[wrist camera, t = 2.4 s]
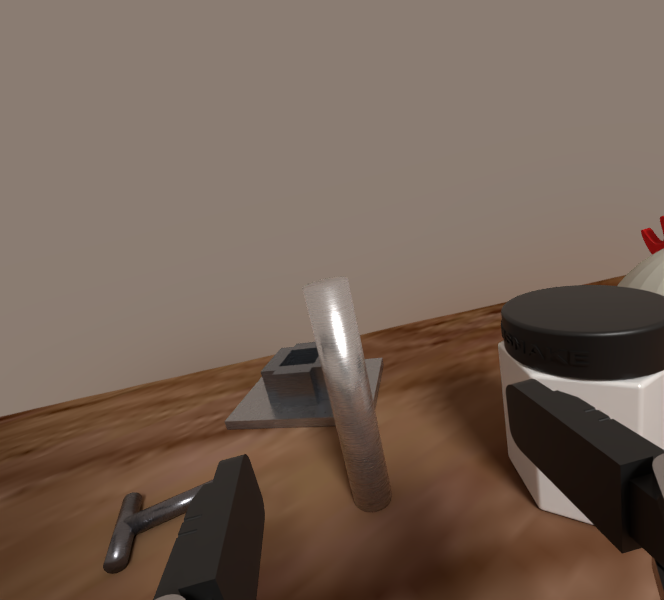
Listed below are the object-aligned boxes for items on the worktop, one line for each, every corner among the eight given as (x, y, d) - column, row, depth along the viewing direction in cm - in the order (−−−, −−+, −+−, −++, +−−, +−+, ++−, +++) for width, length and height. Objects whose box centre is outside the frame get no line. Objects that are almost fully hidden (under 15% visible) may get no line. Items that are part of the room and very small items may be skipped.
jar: (493, 438, 27) (478, 297, 24) (603, 425, 26) (601, 275, 23) (556, 546, 18) (544, 348, 15) (723, 533, 17) (746, 317, 14)
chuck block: (227, 429, 36) (213, 388, 35) (271, 374, 48) (262, 341, 46) (372, 424, 32) (362, 378, 31) (383, 364, 43) (376, 328, 42)
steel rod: (350, 511, 23) (296, 292, 19) (357, 479, 26) (310, 281, 22) (390, 512, 23) (342, 285, 19) (393, 480, 25) (351, 274, 21)
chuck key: (107, 577, 22) (96, 554, 22) (126, 510, 28) (117, 491, 28) (254, 507, 26) (247, 486, 25) (245, 459, 31) (239, 441, 31)
